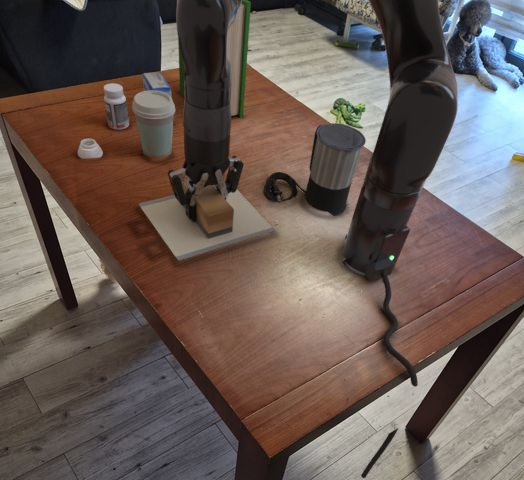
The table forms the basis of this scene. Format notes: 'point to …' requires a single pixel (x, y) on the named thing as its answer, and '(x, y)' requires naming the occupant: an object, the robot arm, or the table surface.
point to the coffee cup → (154, 122)
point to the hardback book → (233, 58)
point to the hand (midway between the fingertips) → (205, 215)
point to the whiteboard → (189, 233)
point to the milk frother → (326, 169)
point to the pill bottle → (116, 106)
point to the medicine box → (156, 83)
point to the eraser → (212, 212)
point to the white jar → (89, 149)
